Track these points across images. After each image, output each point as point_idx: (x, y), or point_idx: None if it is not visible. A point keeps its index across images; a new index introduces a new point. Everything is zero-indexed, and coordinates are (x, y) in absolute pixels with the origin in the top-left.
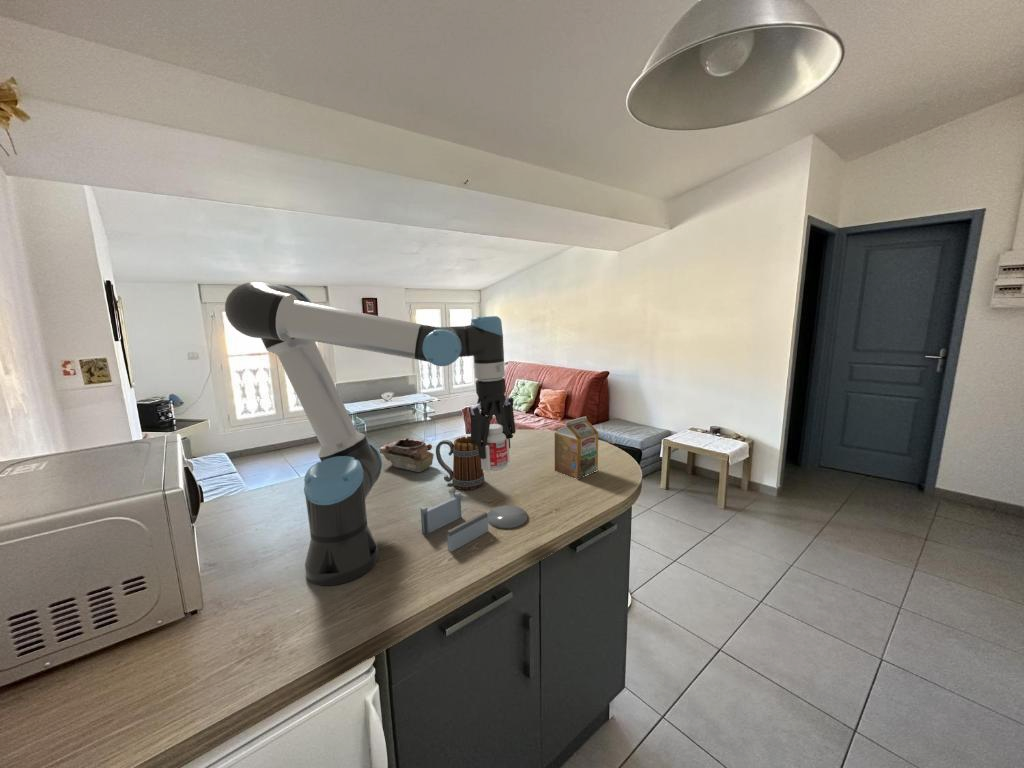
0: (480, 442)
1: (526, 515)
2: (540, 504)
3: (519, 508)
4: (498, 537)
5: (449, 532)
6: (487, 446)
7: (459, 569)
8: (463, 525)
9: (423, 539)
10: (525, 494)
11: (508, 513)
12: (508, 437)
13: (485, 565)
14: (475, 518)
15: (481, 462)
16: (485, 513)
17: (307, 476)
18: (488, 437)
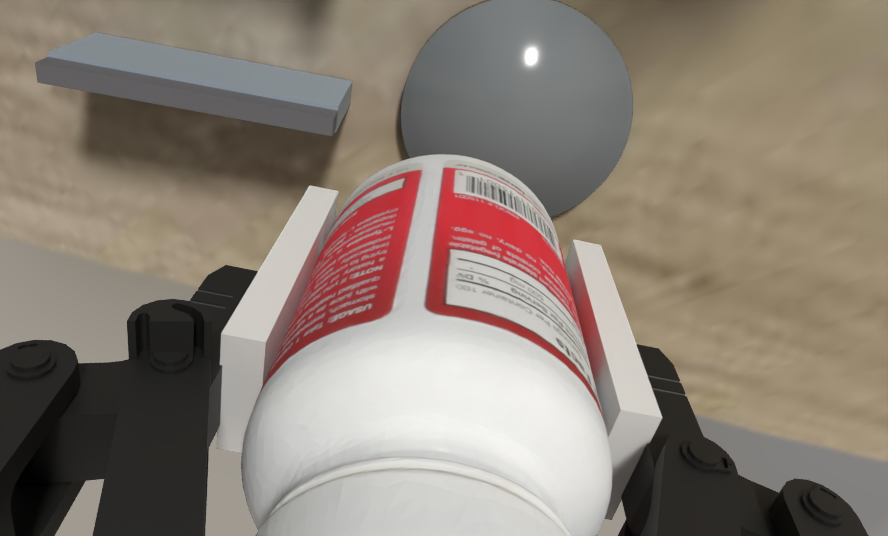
0: (67, 496)
1: (560, 209)
2: (730, 195)
3: (616, 141)
4: (336, 178)
5: (38, 79)
6: (230, 449)
7: (56, 171)
8: (142, 101)
9: None
10: (838, 55)
11: (535, 118)
12: (620, 531)
13: (151, 241)
14: (240, 115)
15: (291, 221)
16: (320, 132)
17: None
18: (261, 522)
